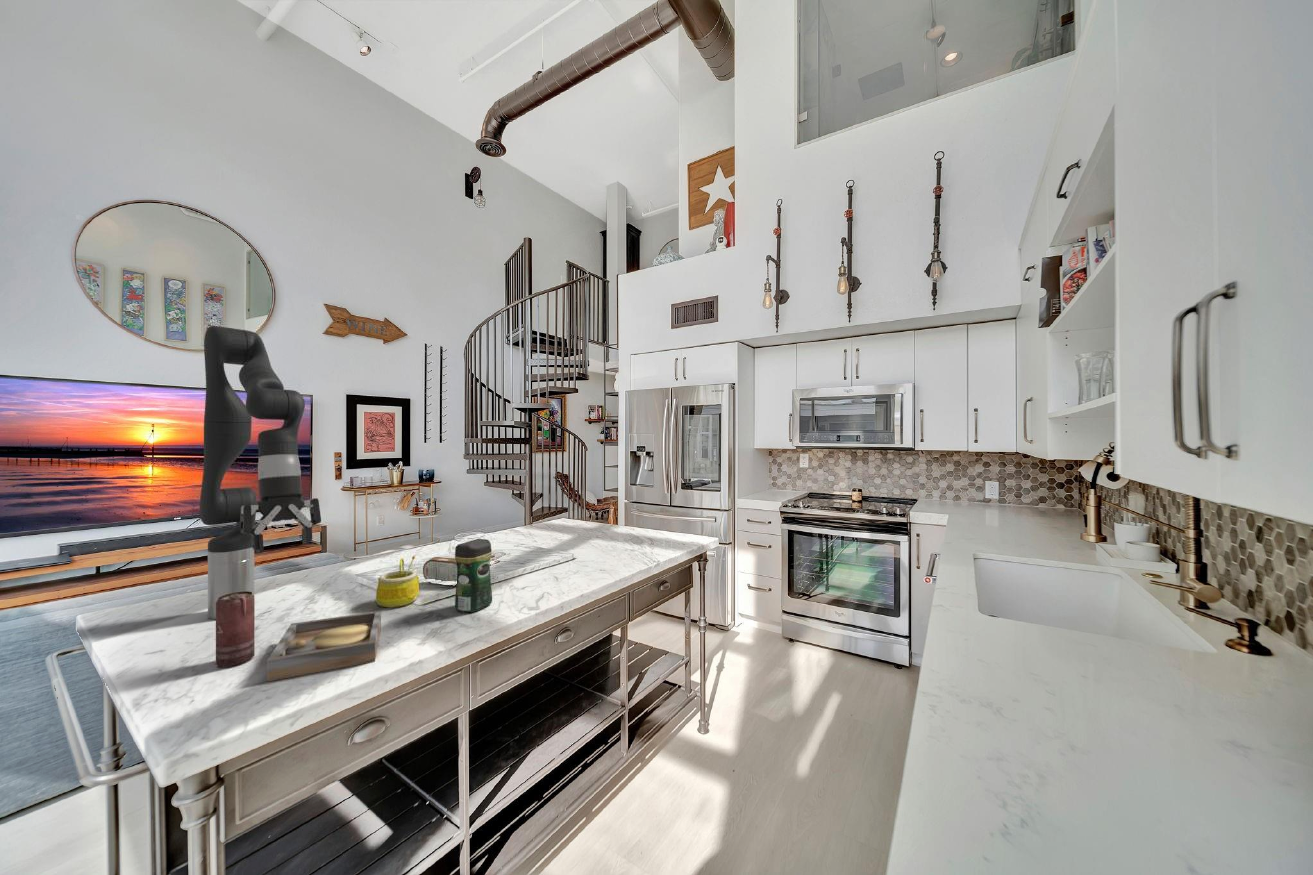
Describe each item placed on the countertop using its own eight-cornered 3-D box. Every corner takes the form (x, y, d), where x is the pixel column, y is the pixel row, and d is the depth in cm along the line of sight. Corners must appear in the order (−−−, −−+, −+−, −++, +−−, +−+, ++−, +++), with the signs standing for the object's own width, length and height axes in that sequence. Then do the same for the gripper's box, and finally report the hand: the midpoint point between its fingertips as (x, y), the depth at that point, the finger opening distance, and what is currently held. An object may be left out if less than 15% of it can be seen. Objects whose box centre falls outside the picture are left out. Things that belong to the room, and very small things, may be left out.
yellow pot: (396, 611, 127) (397, 567, 127) (366, 606, 131) (366, 563, 131) (433, 596, 139) (433, 556, 139) (404, 592, 143) (404, 552, 143)
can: (232, 670, 95) (232, 601, 95) (207, 666, 97) (207, 598, 97) (263, 656, 101) (262, 591, 101) (239, 653, 103) (239, 589, 103)
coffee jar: (474, 599, 137) (475, 535, 137) (496, 603, 134) (497, 538, 134) (448, 611, 128) (449, 542, 128) (471, 615, 125) (472, 545, 125)
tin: (468, 584, 150) (468, 558, 150) (462, 588, 147) (462, 561, 147) (427, 581, 154) (427, 555, 154) (420, 584, 151) (421, 558, 150)
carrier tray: (291, 640, 109) (291, 619, 109) (380, 626, 117) (381, 606, 117) (267, 681, 91) (266, 655, 91) (374, 661, 99) (375, 637, 99)
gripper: (309, 475, 115) (313, 542, 113) (233, 479, 103) (237, 554, 102) (323, 472, 110) (327, 542, 109) (244, 476, 99) (248, 554, 97)
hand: (283, 548), depth 105 cm, fingers open, 8 cm apart
